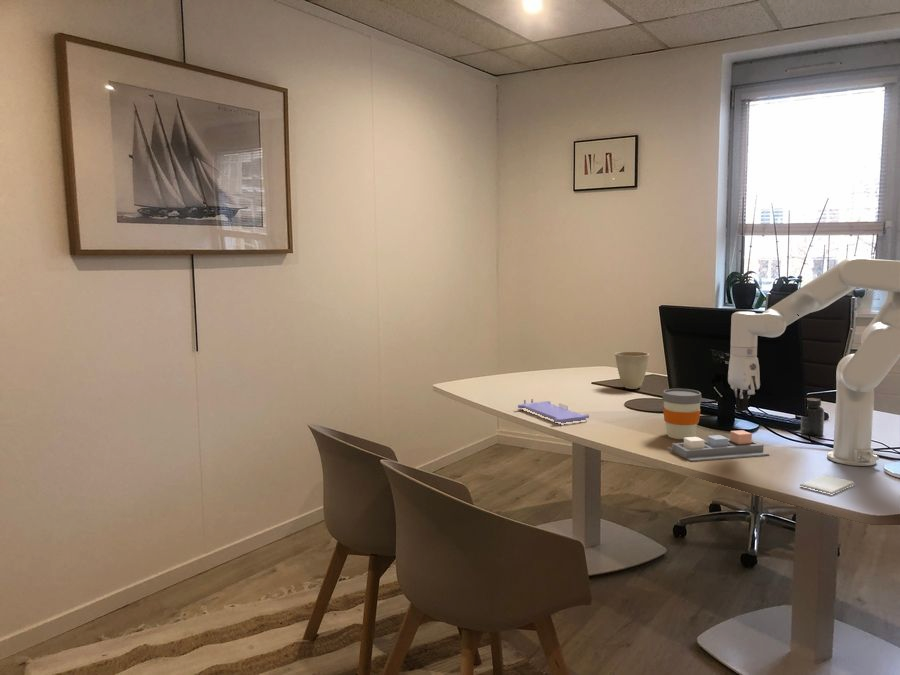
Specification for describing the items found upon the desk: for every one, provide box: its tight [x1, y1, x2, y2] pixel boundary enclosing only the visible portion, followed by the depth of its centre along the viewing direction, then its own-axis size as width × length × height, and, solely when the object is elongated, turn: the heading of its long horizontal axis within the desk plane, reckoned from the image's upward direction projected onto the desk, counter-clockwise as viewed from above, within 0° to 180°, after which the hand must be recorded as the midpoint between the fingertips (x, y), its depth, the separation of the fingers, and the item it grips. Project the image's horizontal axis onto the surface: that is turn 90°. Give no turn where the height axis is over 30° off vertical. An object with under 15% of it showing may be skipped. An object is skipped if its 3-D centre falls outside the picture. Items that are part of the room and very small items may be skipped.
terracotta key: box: [729, 429, 753, 444], centre depth 216 cm, size 4×4×3 cm
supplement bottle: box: [800, 397, 825, 437], centre depth 233 cm, size 7×7×12 cm
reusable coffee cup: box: [662, 388, 702, 440], centre depth 233 cm, size 13×13×15 cm
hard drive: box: [799, 474, 855, 494], centre depth 183 cm, size 2×8×12 cm
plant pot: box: [614, 351, 650, 387], centre depth 314 cm, size 15×15×16 cm
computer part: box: [517, 398, 590, 423], centre depth 266 cm, size 30×4×15 cm
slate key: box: [706, 434, 729, 447], centre depth 214 cm, size 4×4×3 cm
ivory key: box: [683, 436, 706, 449], centre depth 213 cm, size 4×4×3 cm
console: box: [666, 438, 770, 462], centre depth 215 cm, size 14×26×2 cm, turn 101°
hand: (741, 410), depth 215 cm, fingers closed
